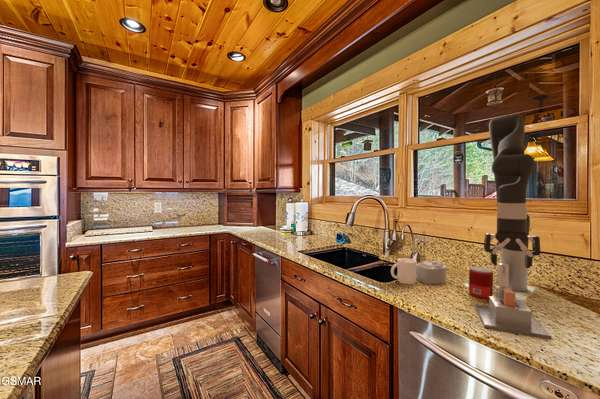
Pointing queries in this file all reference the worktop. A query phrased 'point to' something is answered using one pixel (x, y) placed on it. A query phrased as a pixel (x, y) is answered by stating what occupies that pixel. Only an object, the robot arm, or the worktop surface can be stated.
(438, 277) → the lumpy-topped squat cylinder
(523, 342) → the worktop surface
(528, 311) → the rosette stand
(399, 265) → the mug
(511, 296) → the stepped block
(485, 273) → the canned food
